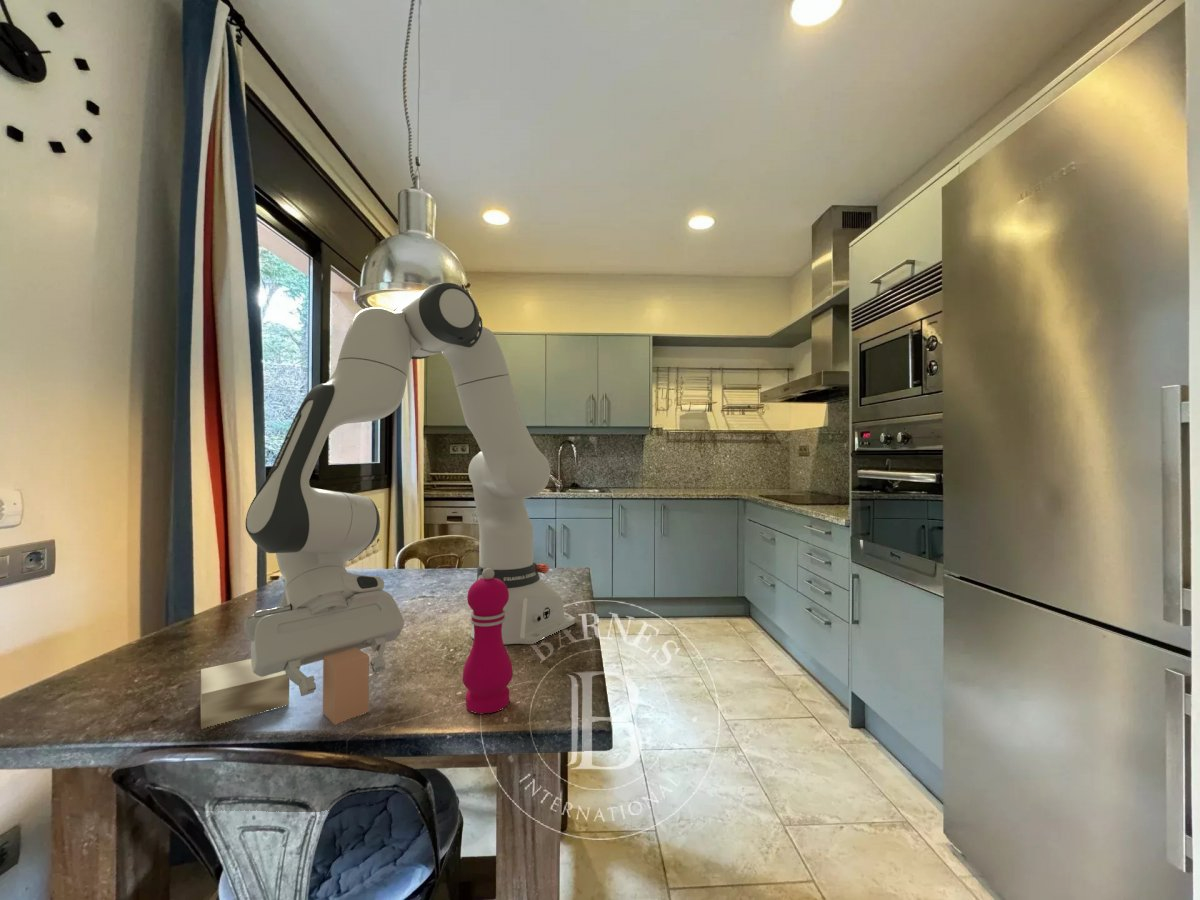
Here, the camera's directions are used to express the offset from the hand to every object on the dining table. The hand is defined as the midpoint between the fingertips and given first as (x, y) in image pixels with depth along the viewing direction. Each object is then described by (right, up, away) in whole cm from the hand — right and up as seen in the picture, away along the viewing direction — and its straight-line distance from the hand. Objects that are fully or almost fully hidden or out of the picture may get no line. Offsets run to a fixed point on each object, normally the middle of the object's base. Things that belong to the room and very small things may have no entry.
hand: (345, 680), depth 70 cm
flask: (-32, -6, +38) cm, 50 cm away
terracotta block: (0, -5, 0) cm, 5 cm away
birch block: (-16, -5, +3) cm, 17 cm away
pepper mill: (+20, -5, +2) cm, 20 cm away
